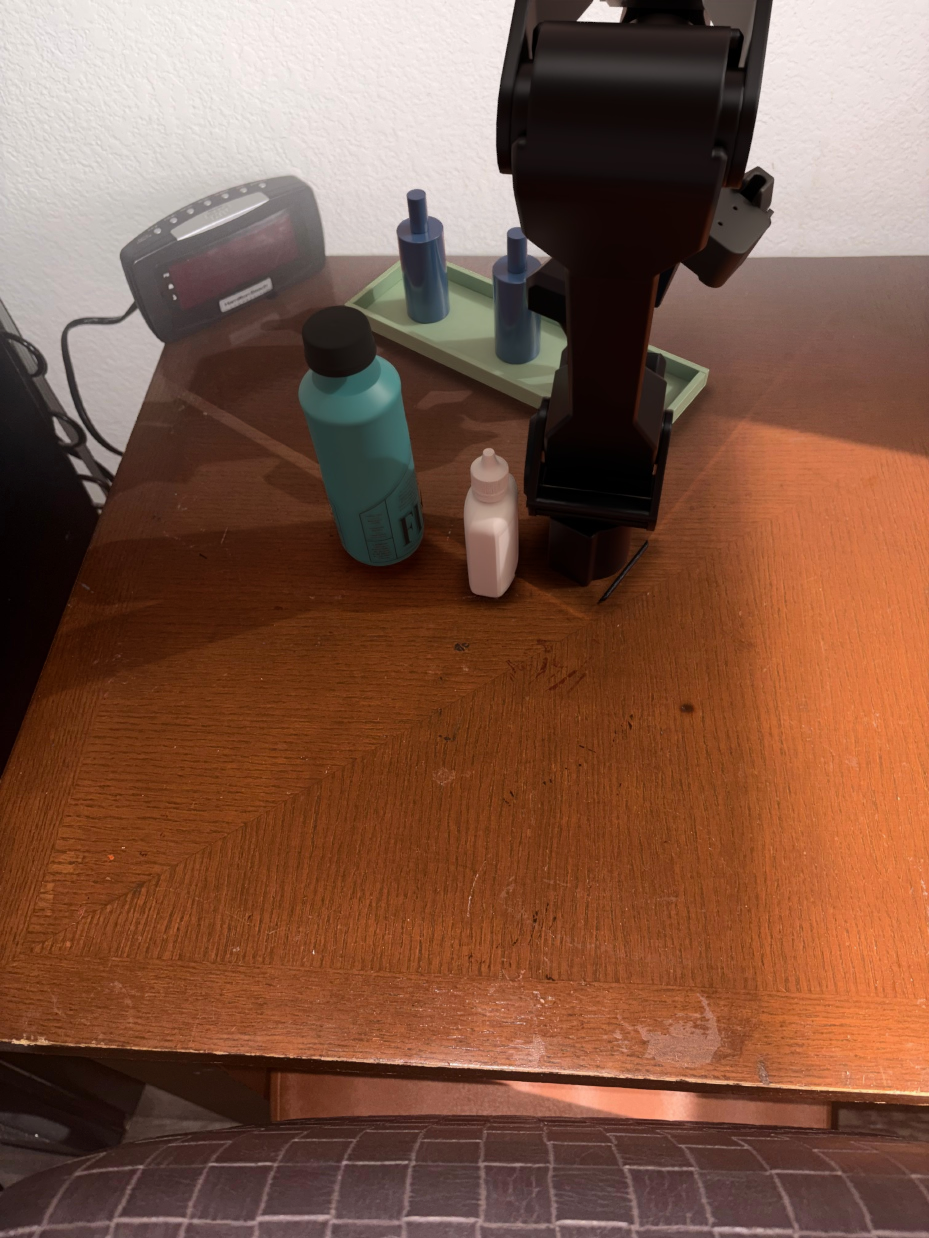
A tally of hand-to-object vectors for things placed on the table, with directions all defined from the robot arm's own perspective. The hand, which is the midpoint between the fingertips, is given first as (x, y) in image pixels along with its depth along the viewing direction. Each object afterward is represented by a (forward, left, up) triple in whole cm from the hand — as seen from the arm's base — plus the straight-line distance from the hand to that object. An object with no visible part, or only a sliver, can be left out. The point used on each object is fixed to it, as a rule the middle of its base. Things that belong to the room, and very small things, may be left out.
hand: (622, 337), depth 66 cm
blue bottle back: (0, +20, -6) cm, 21 cm away
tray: (0, +10, -6) cm, 12 cm away
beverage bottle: (-23, +6, -7) cm, 25 cm away
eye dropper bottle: (-20, -2, -7) cm, 21 cm away
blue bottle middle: (0, +10, -6) cm, 11 cm away
